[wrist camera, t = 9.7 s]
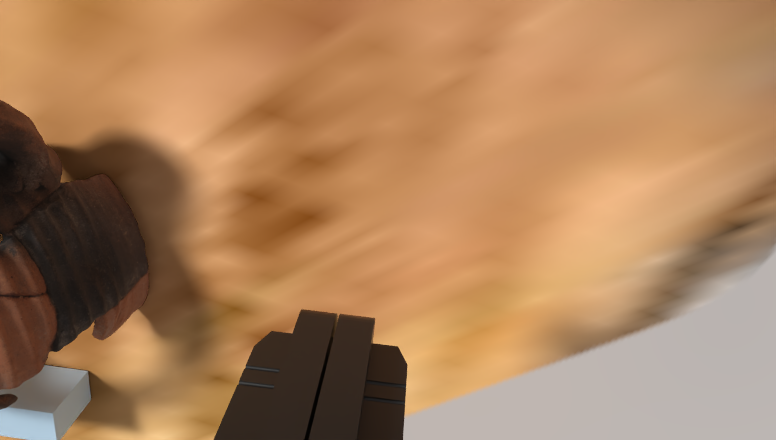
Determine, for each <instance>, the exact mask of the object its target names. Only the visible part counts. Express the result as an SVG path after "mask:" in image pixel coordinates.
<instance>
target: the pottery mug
mask: <svg viewBox="0 0 776 440" xmlns="http://www.w3.org/2000/svg"><path fill="white" fill-rule="evenodd" d="M61 175H62V163H61V160H60V159H59V157H58V155H57V153H56V152H55V151H54V150H53V149H52V148H51V147H49V146H47V145H46V144H45V143H44V141H43V138H42V136H41V135H40V134H39V132H38V131H37V129H36V127H35V125H34V123H33V122H32V121H31V120H30V118H29V117H27V116H26V115H24V114H23V113H22V112H20V111H18V110H16V109H15V108H13V107H12V106H10V105H9V104H7V103H5V102H3V101H1V100H0V234H2V235H3V240H2V241H1V243H0V390H1V389H13V388H17V387H19V386H20V385H21V384H22V383H24V382H25V381H27V380H29V379H30V378H32V377H34V376H35V375H37V374H38V373H39V372H40V371H41V370H42V369H43V367H44V364H45V362H46V360H47V358H48V353H49V352H50V351H54V352H58V351H59V350H61V349H62V348H63V347H64V346H66V345H67V344H69V343H71V342H72V341H73V340H75V339H76V338H77V336H78V335H79V334H80V333H81V332H82V331H84V330H86V329H88V328H89V327H90V326H91V324H92V323H93V322H94V320H95V322H94V323H95V325H94V330H93V333H92V335H93V336H94V337H95V338H97V339H99V340H104V339H106V338H108V337H109V336H111V335H112V334H113V333H114V332H115V331H117V330H118V329H119V328H120V326H121V325H123V323H124V322H125V321H126V320H127V319H128V318H129V317H130V315H131V314H132V313H133V312H134V311H136V310H137V309H138V308H140V307H141V306H142V305H143V303H144V301H145V299H146V297H147V293H148V288H149V274H148V262H147V257H146V254H145V243H144V240H143V238H142V236H141V235H140V232H139V228H138V224H137V221H136V219H135V218H134V216H133V213H132V211H131V209H130V207H129V206H128V204H127V203H126V202H125V200H124V199H123V197H122V195H121V194H120V192H119V190H118V189H117V188H116V187H115V185H114V184H113V182H112V181H111V180H110V179H109V178H108V176H107V175H104V174H99V175H95V176H92V177H90V178H88V179H86V180H75V181H72V182H65V183H61V182H60V180H61ZM17 399H18V397H17V396H15V395H13V394H2V395H0V410H1V409H4V408H7V407H9V406H10V405H12V404H13V403H15V402H16V401H17Z"/></svg>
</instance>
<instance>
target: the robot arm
mask: <svg viewBox="0 0 776 440" xmlns="http://www.w3.org/2000/svg"><path fill="white" fill-rule="evenodd" d="M337 319H338V322H337ZM374 325H375V318H369V317H361V316H352V315H344V314H340V315H339V318H338V316H337V314H335V313H327V312H319V311H311V310H301V311H300V314H299V317H298V319H297V322H296V325H295V328H294V331H293V334H291V333H283V332H274V331H271V332H270V333H269V334H268V335H267V336H265V337H264V338H263V339H262V340H261V341H260V342H258V343H257V344H256V345H255V346H254V348H253V350H252V352H251V355H250V357H249V359H248V362H247V364H246V368H245V369H244V371H243V373H242V376H241V378H240V380H239V385H237V387H236V389H235V392H234V394H233V396H232V399H231V401H230V403H229V406H228V408H227V410H226V412H225V415H224V417H223V419H222V422H221V424H220V426H219V429H218V431H217V433H216V436H215V438H214V440H403V427H404V412H405V395H406V379H407V363H406V361H405V359H404V358H403V356H402V354H401V352H400V350H399V348H398V347H397V346H389V345H381V344H373V335H374Z"/></svg>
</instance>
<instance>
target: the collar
mask: <svg viewBox="0 0 776 440" xmlns="http://www.w3.org/2000/svg"><path fill="white" fill-rule="evenodd" d="M2 394H13V395H15V396H17V397H18V399H17V401H16V402H15V403H13V404H12V405H10V406H9V407H7V408H4V409H1V410H0V436H6V437H13V438H20V439H27V440H60V439H61V438H62V437H63V436H64V434H65V433H66V432H67V430H68V429H69V428H70V426H71V425H72V424H73V423H74V421H75V420H76V419H77V417H78V416H79V415H80V413H81V412H82V411H83V410H84V408H85V407H86V406H87V404H88V403H89V402H90V400H91V394H90V385H89V376H88V371H84V370H77V369H70V368H63V367H56V366H48V365H44V367H43V369H42V370H41V371H40V372H39V373H38V374H37V375H35V376H34V377H32V378H30V379H29V380H27V381H25V382H24V383H22V384H21V385H20V386H19V387H17V388H13V389H1V390H0V395H2Z"/></svg>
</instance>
